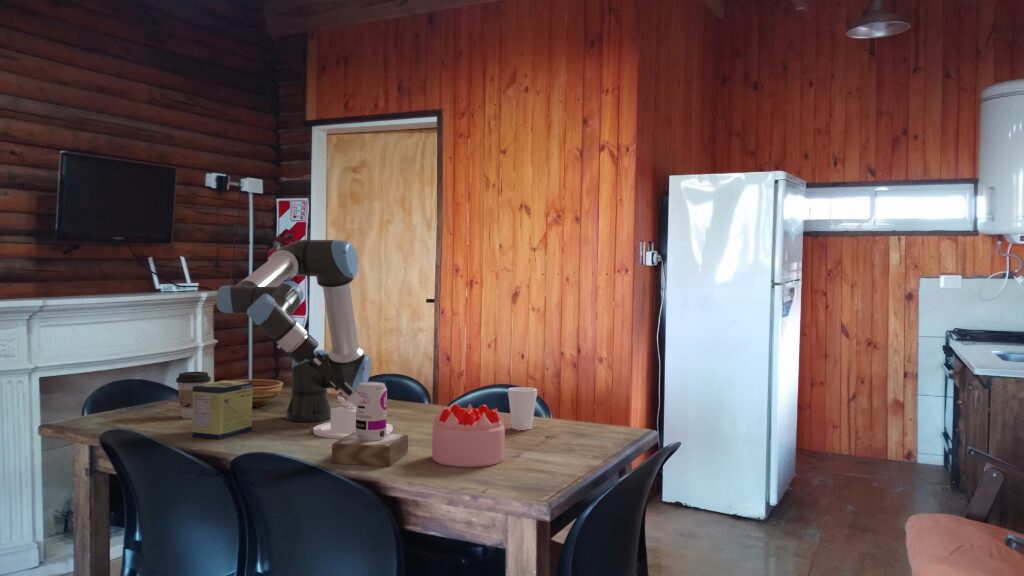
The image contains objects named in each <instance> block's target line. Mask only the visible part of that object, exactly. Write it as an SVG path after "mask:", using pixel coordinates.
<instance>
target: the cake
mask: <svg viewBox="0 0 1024 576" xmlns="http://www.w3.org/2000/svg"><path fill="white" fill-rule="evenodd" d="M504 420H505V419H504V417H503V416H502V415H501V414H500V413H499V411H498V408H497V407H496V408H495V409H493V408H492V409H489V408H488V405H486V404H481V405H479V407H478V408H476V407H475V408H473V406H472V405H471V403H469V404H468V406H467V408H466V407H465V408H464V407H462V408H461V406H460V404H457V403H456V404H452V406H451V407H450V409H449V408H445V407H444V406H442V407H441V411H440V412H439V413H438V414H436V416H435V418H434V422H435V423H434V424H433V425H432V441H431V443H432V447H431V448H432V450H431V452H432V453H431V455H432V456H431V457H432V460H433V461H434V462H435V463H437V464H439V465H444V466H449V467H458V468H479V467H488V466H493V465H496V464H500V463H502V462H503V460H504V458H505V430H506V429H505V426H504V423H505V422H504Z"/></svg>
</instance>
